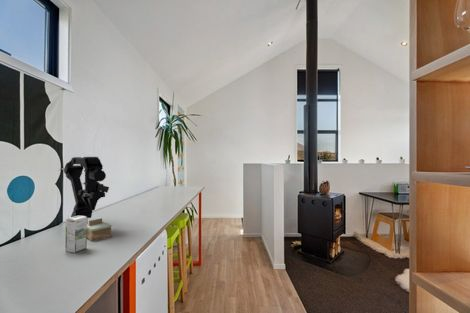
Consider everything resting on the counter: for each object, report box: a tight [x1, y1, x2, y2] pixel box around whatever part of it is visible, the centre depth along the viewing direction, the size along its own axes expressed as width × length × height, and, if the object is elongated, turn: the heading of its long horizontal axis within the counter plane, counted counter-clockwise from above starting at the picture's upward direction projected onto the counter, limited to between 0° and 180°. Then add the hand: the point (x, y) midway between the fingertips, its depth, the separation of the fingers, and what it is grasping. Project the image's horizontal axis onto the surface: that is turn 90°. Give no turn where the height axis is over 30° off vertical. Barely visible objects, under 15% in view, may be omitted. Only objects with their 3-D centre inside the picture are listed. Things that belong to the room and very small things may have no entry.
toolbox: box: [87, 227, 112, 242], centre depth 122 cm, size 12×9×5 cm
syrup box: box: [64, 216, 88, 254], centre depth 105 cm, size 6×6×14 cm
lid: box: [87, 218, 113, 231], centre depth 122 cm, size 12×9×4 cm
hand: (91, 209), depth 126 cm, fingers open, 4 cm apart
